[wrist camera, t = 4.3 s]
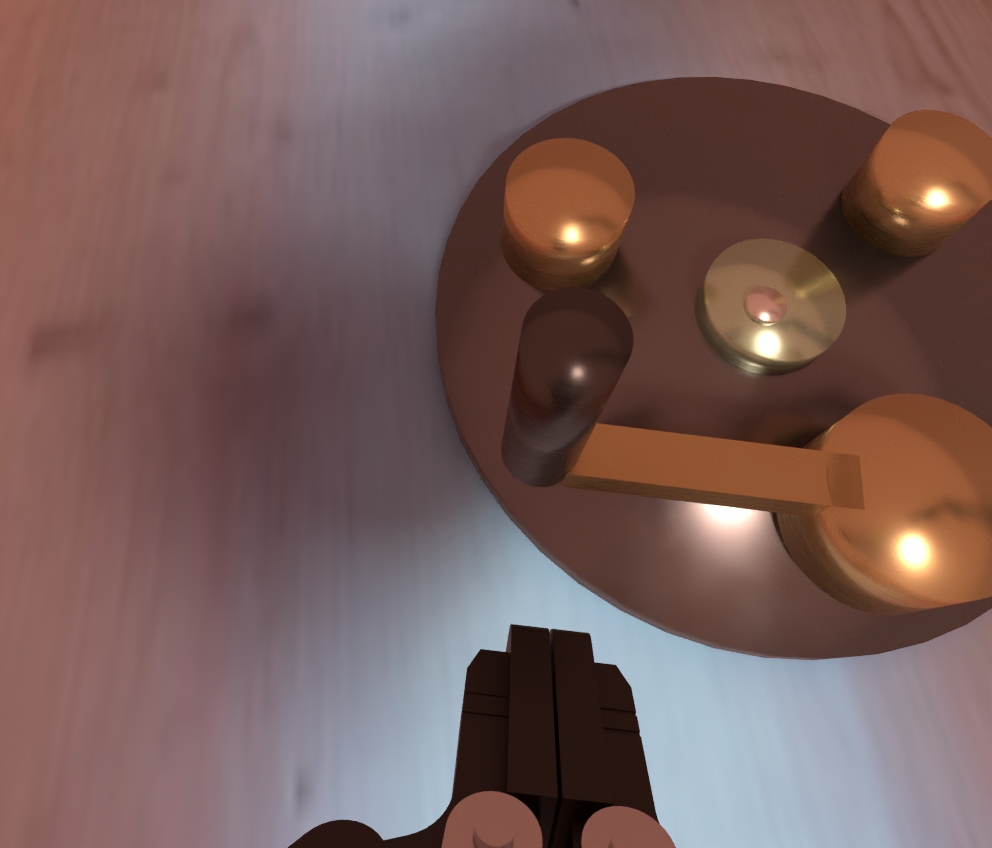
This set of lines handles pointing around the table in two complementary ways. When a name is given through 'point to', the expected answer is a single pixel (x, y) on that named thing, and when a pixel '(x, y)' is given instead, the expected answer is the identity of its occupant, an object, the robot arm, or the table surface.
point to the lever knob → (768, 467)
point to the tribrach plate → (726, 324)
